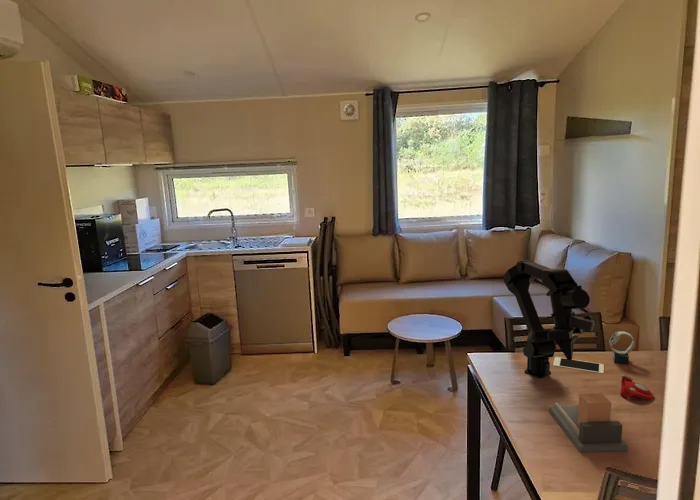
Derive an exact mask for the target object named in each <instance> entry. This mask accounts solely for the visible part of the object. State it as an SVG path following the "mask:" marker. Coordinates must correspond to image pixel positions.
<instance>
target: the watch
mask: <svg viewBox="0 0 700 500" xmlns="http://www.w3.org/2000/svg"><path fill="white" fill-rule="evenodd" d="M622 335H624V336H625V335H626V336H628V337H629V338H631V340H632V341H631V343H630V344H629V346H628V348H626V349H625V350H622V349H616V348H614V347H613V345H615V344H616V343H618V341H619V340H620V338H621V336H622ZM608 344H609V345H610V349H611V350H612V351H613V353H612V358H613V363H614V364H615V365H616V364H617V365H626V366H629V358H630V356H629V354H630V353H631V352H632V350H633V349H634V347H635V344H636V342H635V339H634V337H633V335H632V334H631V333H630V332H626V331H624V330H623V331H622V330H621V331H616V332H614V333H612V335H611V337H610V338H609V340H608Z"/></svg>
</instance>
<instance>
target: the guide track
mask: <svg viewBox="0 0 700 500" xmlns="http://www.w3.org/2000/svg"><path fill="white" fill-rule="evenodd" d="M578 406H579V405H560V404H559V402H554V405H553V406H548V412H549V414H550V415H551V416H552V417H553V419H554V420H555V421H556V422H557V424H558V426H560V428H561V429H562V430H563V432H564V433H565V434H566V436H567V437H568V438H569V440H570V441H571V442H572V443H573V445H574V446H575V448H576V449H577V450H578V452H580V453H594V452H595V453H597V452H599V453H601V452H624V451H626V452H627V451H628V444H627V443H626V442H625V441H624V440H623V438H622V435H623V424H622V423H621V422H620V421H619V420H610V421H604V422H580V427H579V428H578V427H577V422H578Z"/></svg>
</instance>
